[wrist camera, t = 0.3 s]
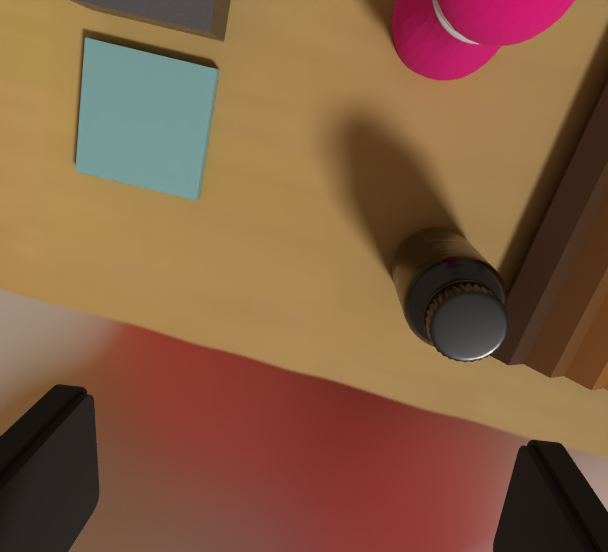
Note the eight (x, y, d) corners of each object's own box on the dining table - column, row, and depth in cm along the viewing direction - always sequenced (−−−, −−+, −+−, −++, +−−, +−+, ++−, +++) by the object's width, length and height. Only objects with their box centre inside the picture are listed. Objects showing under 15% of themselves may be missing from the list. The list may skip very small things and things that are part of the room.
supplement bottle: (373, 273, 41) (386, 334, 29) (428, 209, 39) (464, 247, 27) (436, 320, 42) (472, 396, 30) (492, 260, 40) (553, 317, 28)
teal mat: (90, 39, 37) (85, 37, 36) (219, 70, 37) (216, 69, 36) (80, 170, 40) (75, 171, 39) (199, 198, 40) (196, 200, 39)
